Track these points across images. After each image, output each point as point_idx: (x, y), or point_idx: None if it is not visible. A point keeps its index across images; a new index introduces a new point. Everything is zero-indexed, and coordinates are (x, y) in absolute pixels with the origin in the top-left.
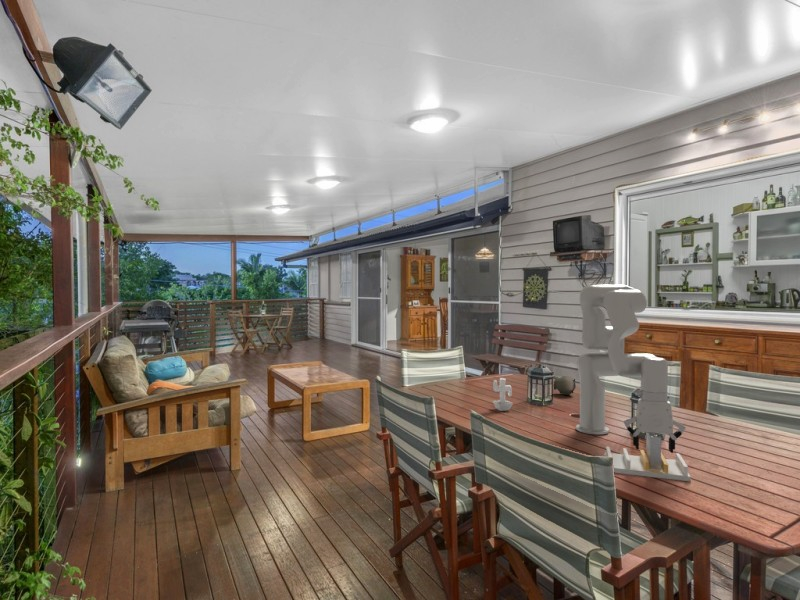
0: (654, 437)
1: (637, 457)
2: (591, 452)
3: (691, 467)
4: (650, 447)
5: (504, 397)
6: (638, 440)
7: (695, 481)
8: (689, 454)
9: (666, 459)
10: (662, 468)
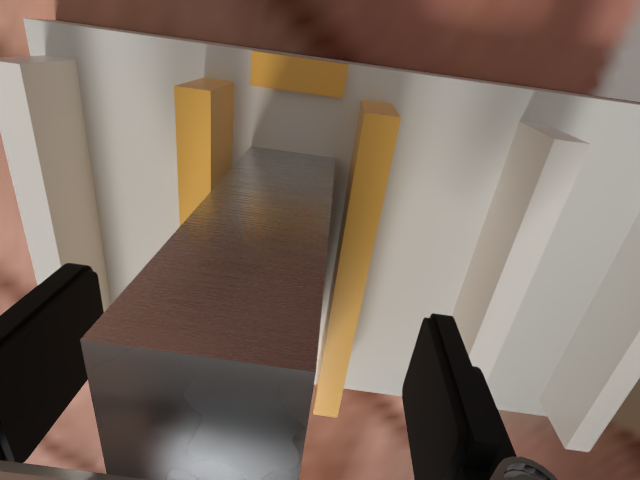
0: (226, 354)
1: (359, 364)
2: (594, 445)
3: None
4: (324, 246)
5: None
6: (452, 398)
7: (19, 35)
8: (50, 466)
9: None
10: None
